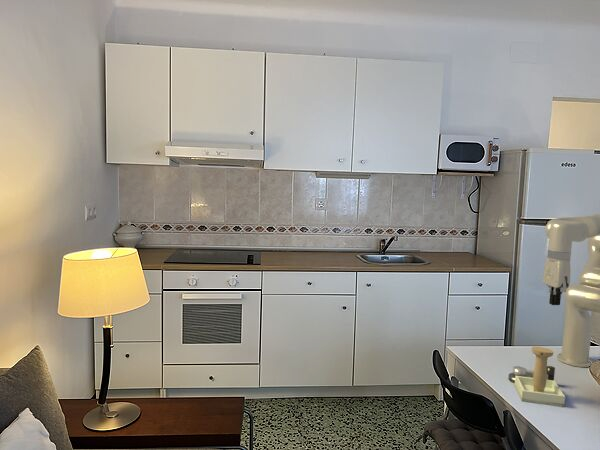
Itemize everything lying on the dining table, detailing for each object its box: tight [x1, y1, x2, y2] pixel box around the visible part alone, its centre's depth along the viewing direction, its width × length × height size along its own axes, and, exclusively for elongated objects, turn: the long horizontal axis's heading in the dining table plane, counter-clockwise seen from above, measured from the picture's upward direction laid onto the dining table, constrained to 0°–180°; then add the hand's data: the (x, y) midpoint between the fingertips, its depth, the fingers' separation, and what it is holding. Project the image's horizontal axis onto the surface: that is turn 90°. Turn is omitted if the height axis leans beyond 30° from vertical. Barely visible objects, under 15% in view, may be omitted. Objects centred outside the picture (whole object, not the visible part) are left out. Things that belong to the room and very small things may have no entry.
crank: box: [512, 365, 556, 381], centre depth 171 cm, size 14×4×5 cm, turn 74°
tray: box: [514, 376, 566, 408], centre depth 161 cm, size 13×13×4 cm
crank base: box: [507, 372, 566, 388], centre depth 171 cm, size 7×19×2 cm, turn 76°
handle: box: [531, 346, 554, 393], centre depth 160 cm, size 5×6×15 cm
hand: (554, 304), depth 176 cm, fingers closed
